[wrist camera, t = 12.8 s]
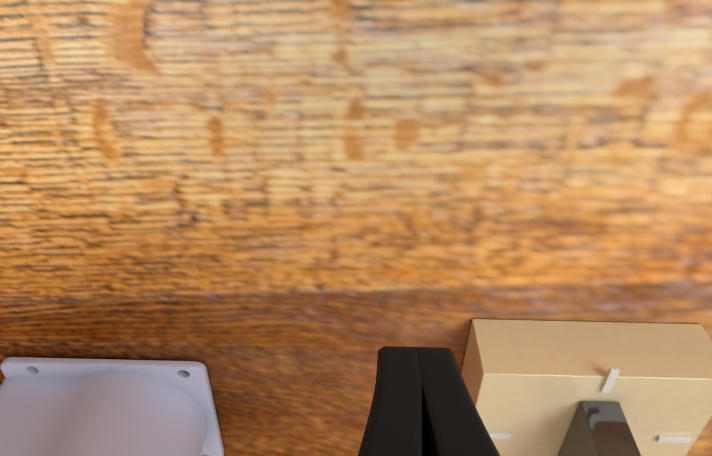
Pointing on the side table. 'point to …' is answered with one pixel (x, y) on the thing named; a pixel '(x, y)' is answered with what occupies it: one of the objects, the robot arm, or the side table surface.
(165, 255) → the side table surface
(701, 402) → the block
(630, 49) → the side table surface
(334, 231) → the side table surface
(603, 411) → the tap handle
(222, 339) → the side table surface
